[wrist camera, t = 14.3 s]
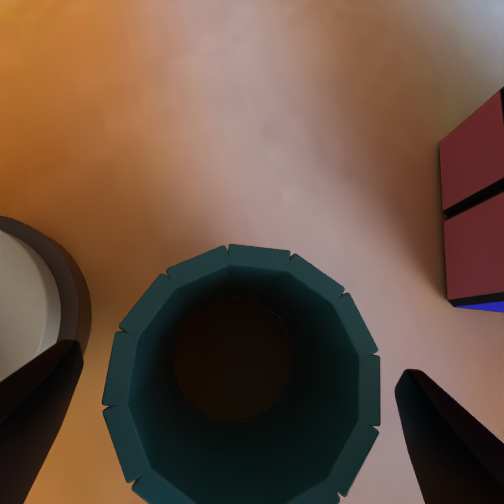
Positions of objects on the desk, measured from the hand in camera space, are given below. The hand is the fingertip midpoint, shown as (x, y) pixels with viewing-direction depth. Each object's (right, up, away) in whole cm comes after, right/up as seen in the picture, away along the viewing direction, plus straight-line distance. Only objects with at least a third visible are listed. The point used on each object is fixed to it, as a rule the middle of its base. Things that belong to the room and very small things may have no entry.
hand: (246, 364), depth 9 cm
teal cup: (-1, -2, +7) cm, 7 cm away
